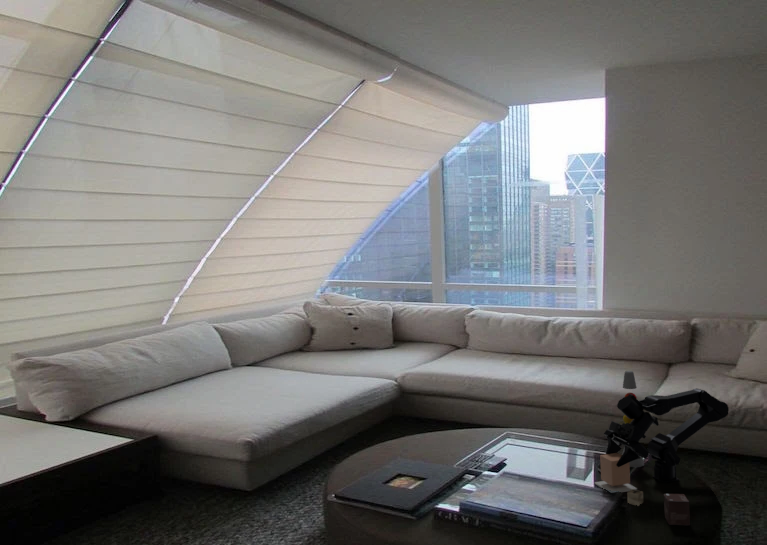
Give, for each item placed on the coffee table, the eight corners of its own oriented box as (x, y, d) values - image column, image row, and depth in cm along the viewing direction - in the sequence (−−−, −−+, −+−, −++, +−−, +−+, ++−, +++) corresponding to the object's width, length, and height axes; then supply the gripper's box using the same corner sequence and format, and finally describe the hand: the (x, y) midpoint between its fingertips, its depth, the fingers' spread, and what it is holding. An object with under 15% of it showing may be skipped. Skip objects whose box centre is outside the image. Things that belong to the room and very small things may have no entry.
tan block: (618, 476, 230) (617, 452, 229) (630, 483, 223) (629, 458, 223) (601, 479, 228) (600, 455, 228) (612, 486, 222) (611, 461, 221)
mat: (619, 479, 232) (619, 478, 232) (637, 489, 222) (637, 488, 222) (594, 483, 229) (594, 482, 229) (611, 494, 220) (611, 492, 220)
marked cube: (632, 500, 214) (632, 488, 214) (643, 502, 212) (642, 491, 212) (627, 503, 212) (627, 492, 212) (638, 506, 209) (638, 494, 209)
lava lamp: (629, 457, 254) (626, 367, 252) (650, 463, 246) (647, 371, 245) (614, 462, 249) (611, 371, 248) (634, 469, 242) (631, 374, 240)
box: (690, 526, 193) (689, 501, 193) (668, 525, 195) (667, 501, 194) (685, 517, 199) (684, 493, 199) (664, 516, 201) (663, 493, 200)
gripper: (607, 406, 235) (581, 441, 233) (639, 419, 217) (611, 457, 214) (627, 425, 237) (601, 459, 235) (661, 440, 219) (633, 477, 217)
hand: (611, 462), depth 225 cm, fingers closed on tan block, 7 cm apart
